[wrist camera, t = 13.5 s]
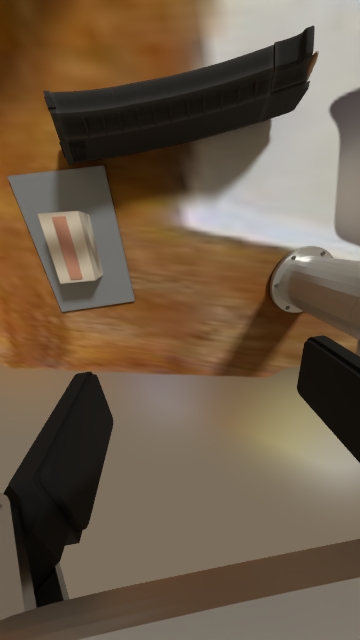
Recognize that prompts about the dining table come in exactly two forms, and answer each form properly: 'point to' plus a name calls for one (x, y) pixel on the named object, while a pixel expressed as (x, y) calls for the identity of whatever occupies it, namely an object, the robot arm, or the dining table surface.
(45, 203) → the mat
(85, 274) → the card box
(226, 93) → the magazine
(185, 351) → the dining table surface
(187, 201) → the dining table surface
